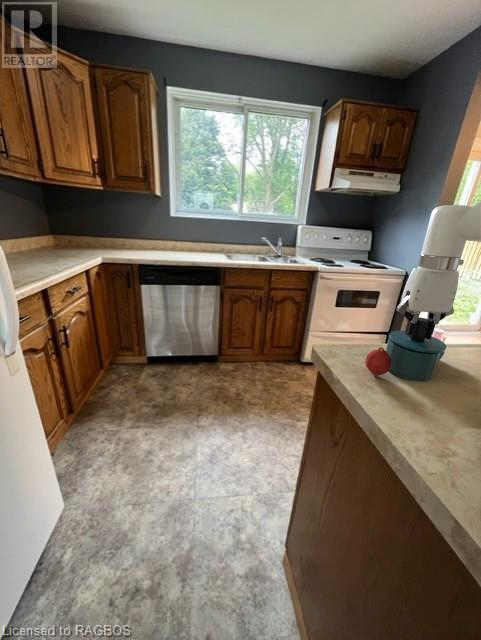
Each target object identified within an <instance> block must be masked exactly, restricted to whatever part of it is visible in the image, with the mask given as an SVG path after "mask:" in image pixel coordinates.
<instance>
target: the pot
mask: <svg viewBox="0 0 481 640" xmlns="http://www.w3.org/2000/svg"><path fill="white" fill-rule="evenodd" d="M385 351H386V352H387V353H388V354H389V356H390V357H391V361H392V364H391V368H390V370H389V371H388V372H389V373H390V374H392V375H394V376H397V377H399V378H401V379H403V380H404V379H405V380H408V381H413V382H427V381H431V380H432V378H433V376H434V374H435V370H436V368H437V365H438V363H439V362H438V359H439V356H440V353H441V352H440V353H427V352H420V351H415V350H411V349H408V348H405V347H402V346H400V345H398V344H396V343H394V342H393V341H391V340H390V338H389V337H388V340H387V343H386V347H385ZM437 362H438V363H437Z"/></svg>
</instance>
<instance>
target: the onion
mask: <svg viewBox="0 0 481 640" xmlns="http://www.w3.org/2000/svg"><path fill="white" fill-rule="evenodd" d="M364 361H365V362H364V364H365V367H366V369H367V370H368V372H370V374H371V375H372V376H374V377H378V376H382V375H385V374H387V373H388V372H389V370H390V368H391V364H392V361H391V357H390V356H389V354H388V353H387V352H386V349H385V348H384V347H383V346H379V347H378V348H376V349H373V350H371V351H370V352H369V353H367V355H366V357H365V360H364Z"/></svg>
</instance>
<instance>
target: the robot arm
mask: <svg viewBox="0 0 481 640" xmlns="http://www.w3.org/2000/svg"><path fill="white" fill-rule="evenodd" d="M428 221H429V222H428V225H427V228H426V232H425V237H424V241H423V243H422V244H423V245H422V248H421V252H420V257H419V260H418V264H417V267H413V268H412V270H411V272H410V274H409V276H408V278H407V280H406V283H405V286H404V288H403V292H402V294H401V299H400V303H399V304H398V305H397V306H396V308H395V310H396V311H397V312H399V313H400V314H402V315H403V316H404V318H405V320H406V321H407V322H406V326H405V329H404V331H405V334H406V335H407V336H408V337H409V338H411V339H414V338H415V335H416V332H417V328H418V324H417V323H416V322H417V320H418V318H419V317H420V315H421V313H427V318H426V319H428V320H430V323H429V326H428V330H427V333H426V337H425V338H426V339H429V340H430V339H431V337H433V334H434V332H435V328H436V326H437V325H439V324H440V322H441V321H443V320H444V319H445V318H446V317H449V316H451V315H453V314H455V309H454V303H455V300H456V296H457V291H458V287H459V278H460V277H459V276H460V271H458V268H459V266H463V265H464V263H465V260H464V259H462V255H463V252H464V249H465V246H466V242H477V243H481V200H479V201H478V202H476V203H475V204H473V205H471V206H470V205H465V204H463V205H462V204H447V205H439V206H436V207H435V208H434V209H433V210H432V211H431V214H430V216H429V220H428ZM407 308H408V310H407Z"/></svg>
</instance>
